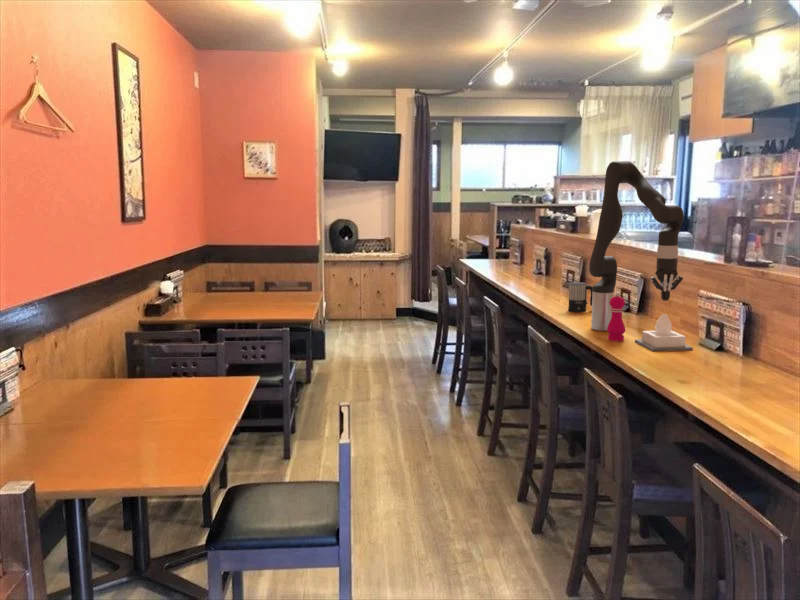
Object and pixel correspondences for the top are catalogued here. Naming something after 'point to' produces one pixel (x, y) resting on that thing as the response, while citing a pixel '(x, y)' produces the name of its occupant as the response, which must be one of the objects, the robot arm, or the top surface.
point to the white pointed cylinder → (663, 326)
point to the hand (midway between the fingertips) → (665, 300)
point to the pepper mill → (616, 319)
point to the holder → (663, 341)
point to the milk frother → (578, 296)
